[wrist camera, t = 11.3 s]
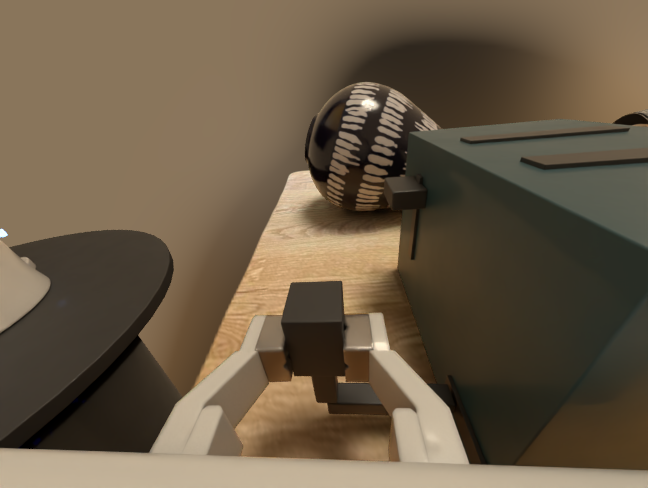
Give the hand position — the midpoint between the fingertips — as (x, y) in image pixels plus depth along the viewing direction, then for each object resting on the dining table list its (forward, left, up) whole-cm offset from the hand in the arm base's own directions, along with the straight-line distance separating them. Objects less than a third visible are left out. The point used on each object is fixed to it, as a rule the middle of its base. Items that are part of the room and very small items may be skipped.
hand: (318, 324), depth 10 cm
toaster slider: (+2, -1, -5) cm, 6 cm away
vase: (+5, +30, +3) cm, 30 cm away
